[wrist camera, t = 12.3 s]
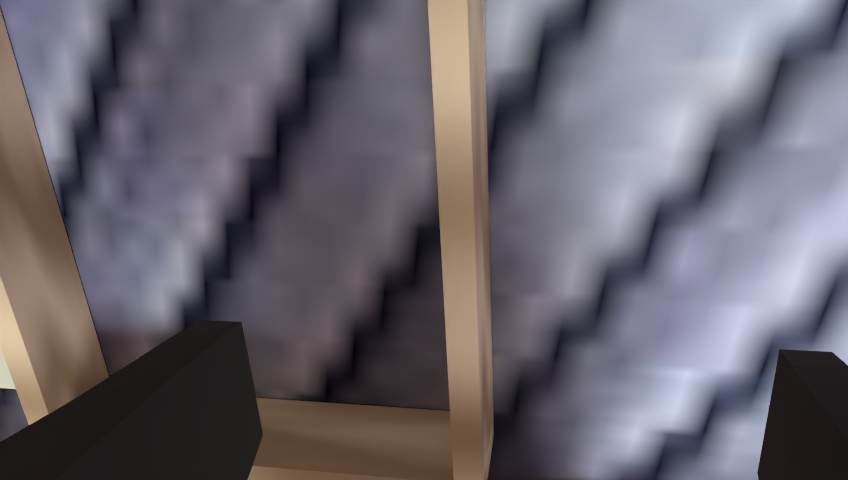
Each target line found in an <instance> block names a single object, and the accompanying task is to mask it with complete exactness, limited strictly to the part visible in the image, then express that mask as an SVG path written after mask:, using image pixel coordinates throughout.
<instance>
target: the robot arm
mask: <svg viewBox="0 0 848 480" xmlns="http://www.w3.org/2000/svg"><path fill="white" fill-rule="evenodd" d="M262 436H263V431H262V426H261V421H260V416H259V411H258V405H257V400H256V395H255V390H254V385H253V380H252V374H251V369H250V364H249V359H248V354H247V349H246V343H245V338H244V333H243V328H242V323H241V322H227V321H207V320H201V321H199V322H198V323H196V324H194V325H192V326H190V327H188V328H186V329H185V330H183V331H181V332H180V333H178V334H176V335H175V336H173V337H171V338H170V339H168V340H166V341H165V342H163V343H162V344H160V345H158V346H157V347H155V348H154V349H152V350H151V351H149V352H147V353H146V354H144V355H143V356H141V357H140V358H138V359H137V360H135V361H133V362H132V363H130V364H129V365H127V366H126V367H124V368H122V369H121V370H119V371H118V372H116V373H115V374H113V375H111V376H110V377H108V378H107V379H105V380H103V381H102V382H100V383H99V384H97V385H96V386H94V387H92V388H91V389H89V390H88V391H86V392H85V393H83V394H81V395H80V396H78V397H77V398H75V399H73V400H71V401H70V402H68V403H66V404H65V405H63V406H61V407H60V408H58V409H56V410H54V411H53V412H51V413H49V414H48V415H46V416H44V417H42V418H41V419H39V420H37V421H36V422H34V423H32V424H31V425H29V426H27V427H25V428H24V429H22V430H20V431H19V432H17V433H15V434H13V435H12V436H10V437H8V438H7V439H5V440H3V441H1V442H0V480H248V477H249V474H250V472H251V469H252V466H253V463H254V460H255V457H256V454H257V451H258V448H259V445H260V442H261V439H262ZM758 478H759V480H848V366H847V365H846V364H845V363H844V362H843V361H842V360H841V359H839V358H838V357H837V356H836V355H835V354H834V353H832V352H820V351H800V350H779V356H778V361H777V367H776V373H775V378H774V384H773V389H772V395H771V401H770V406H769V412H768V417H767V423H766V429H765V434H764V440H763V445H762V451H761V457H760V462H759V468H758Z"/></svg>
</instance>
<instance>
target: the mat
mask: <svg viewBox="0 0 848 480" xmlns="http://www.w3.org/2000/svg"><path fill="white" fill-rule="evenodd" d="M0 388H9V389H16V388H15V385H14V383H13V380H12V377H11V374H10V372H9V369H8V366H7V363H6V361H5V358H4V355H3V352H2V350H1V347H0Z"/></svg>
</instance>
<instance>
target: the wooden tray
mask: <svg viewBox="0 0 848 480" xmlns="http://www.w3.org/2000/svg"><path fill="white" fill-rule="evenodd" d="M428 16H429V35H430V53H431V72H432V90H433V109H434V127H435V146H436V164H437V182H438V201H439V219H440V238H441V256H442V275H443V293H444V311H445V330H446V348H447V367H448V385H449V404H450V411H442V410H428V409H413V408H399V407H384V406H369V405H355V404H340V403H326V402H311V401H297V400H282V399H268V398H256V400H257V405H258V411H259V416H260V421H261V426H262V431H263V436H262V439H261V442H260V445H259V448H258V451H257V454H256V457H255V460H254V463H253V466H252V469H251V472H250V474H249V477H248V480H487V479H488V472H489V465H490V458H491V451H492V444H493V437H494V414H493V370H492V325H491V281H490V236H489V192H488V147H487V103H486V58H485V14H484V0H428ZM0 347H1V350H2V352H3V355H4V358H5V361H6V363H7V366H8V369H9V372H10V374H11V377H12V380H13V383H14V385H15V388H16V391H17V393H18V396H19V399H20V402H21V404H22V407H23V410H24V413H25V415H26V418H27V421H28V424H29V425H31V424H32V423H34V422H36V421H37V420H39V419H41V418H42V417H44V416H46V415H48V414H49V413H51V412H53V411H54V410H56V409H58V408H60V407H61V406H63V405H65V404H66V403H68V402H70V401H71V400H73V399H75V398H77V397H78V396H80V395H81V394H83V393H85V392H86V391H88V390H89V389H91V388H92V387H94V386H96V385H97V384H99V383H100V382H102V381H103V380H105V379H107V378H108V377H109V375H108V371H107V368H106V365H105V361H104V358H103V355H102V351H101V348H100V344H99V341H98V338H97V334H96V331H95V327H94V324H93V321H92V317H91V314H90V311H89V307H88V304H87V300H86V297H85V294H84V290H83V287H82V284H81V280H80V277H79V273H78V270H77V267H76V263H75V260H74V256H73V253H72V250H71V246H70V243H69V240H68V236H67V233H66V229H65V226H64V223H63V219H62V216H61V212H60V209H59V206H58V202H57V199H56V196H55V192H54V189H53V185H52V182H51V179H50V175H49V172H48V168H47V165H46V162H45V158H44V155H43V152H42V148H41V145H40V141H39V138H38V135H37V131H36V128H35V125H34V121H33V118H32V114H31V111H30V108H29V104H28V101H27V97H26V94H25V91H24V87H23V84H22V81H21V77H20V74H19V70H18V67H17V64H16V60H15V57H14V53H13V50H12V47H11V43H10V40H9V37H8V33H7V30H6V26H5V23H4V20H3V16H2V13H1V9H0Z"/></svg>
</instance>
